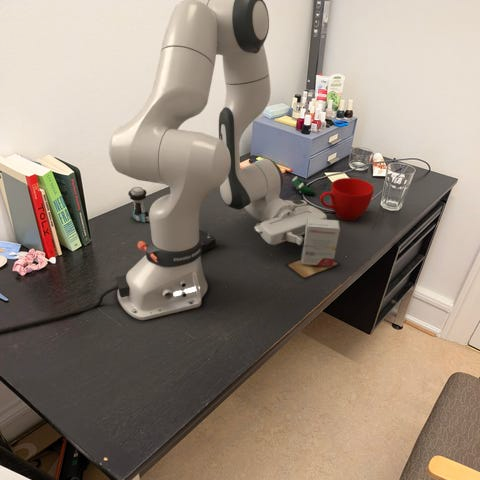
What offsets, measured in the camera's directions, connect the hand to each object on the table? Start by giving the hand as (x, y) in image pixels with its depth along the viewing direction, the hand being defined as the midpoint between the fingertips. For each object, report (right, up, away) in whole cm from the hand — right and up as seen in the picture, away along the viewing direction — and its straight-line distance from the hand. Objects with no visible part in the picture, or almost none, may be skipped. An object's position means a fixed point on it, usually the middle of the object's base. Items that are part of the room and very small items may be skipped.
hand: (312, 238), depth 119 cm
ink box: (+2, -6, +4) cm, 7 cm away
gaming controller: (+3, +24, +39) cm, 46 cm away
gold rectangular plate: (+1, -7, +4) cm, 8 cm away
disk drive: (-35, +1, +11) cm, 37 cm away
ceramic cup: (+14, +12, +26) cm, 32 cm away
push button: (-50, +9, +20) cm, 55 cm away
